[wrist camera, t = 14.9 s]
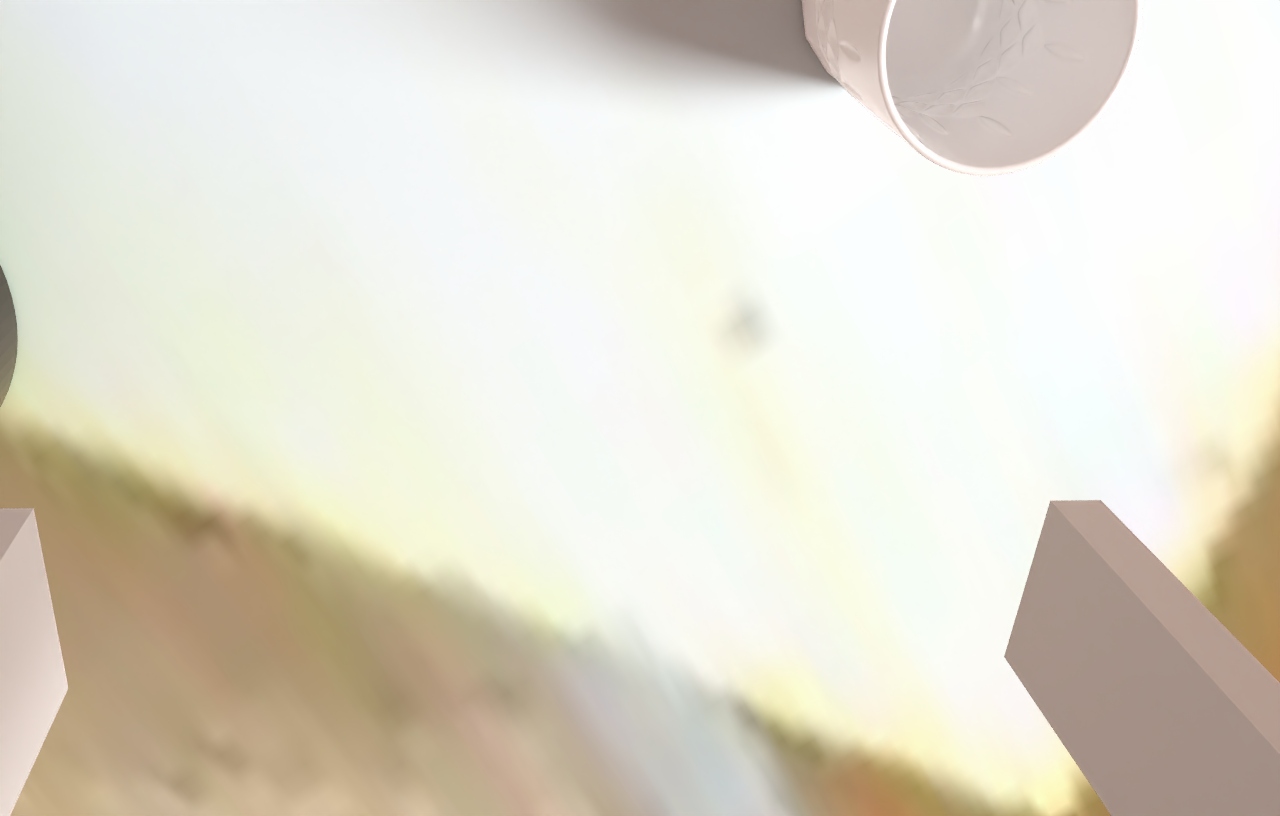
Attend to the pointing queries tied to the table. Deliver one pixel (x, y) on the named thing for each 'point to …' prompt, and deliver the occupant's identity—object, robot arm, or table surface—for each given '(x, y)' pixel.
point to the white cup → (979, 71)
